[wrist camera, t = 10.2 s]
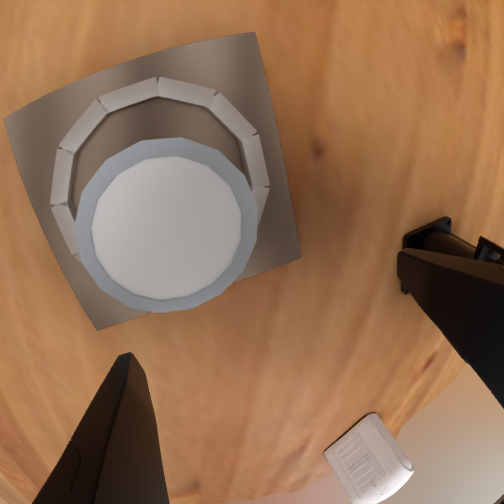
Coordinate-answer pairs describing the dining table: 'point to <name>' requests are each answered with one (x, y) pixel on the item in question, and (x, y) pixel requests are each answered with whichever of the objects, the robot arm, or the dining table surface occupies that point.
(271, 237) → the ring holder
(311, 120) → the dining table surface
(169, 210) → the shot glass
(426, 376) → the dining table surface
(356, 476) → the white rounded block
